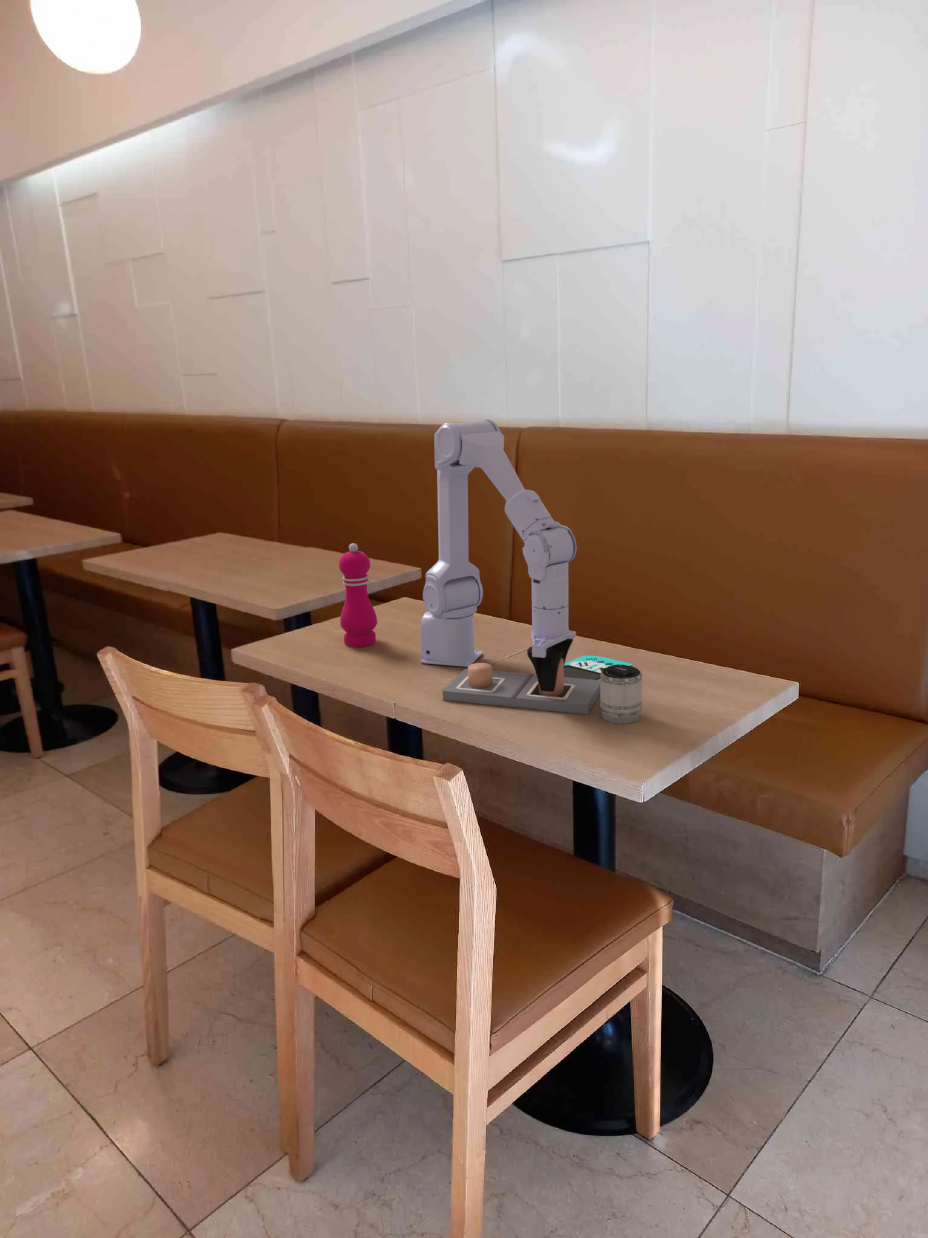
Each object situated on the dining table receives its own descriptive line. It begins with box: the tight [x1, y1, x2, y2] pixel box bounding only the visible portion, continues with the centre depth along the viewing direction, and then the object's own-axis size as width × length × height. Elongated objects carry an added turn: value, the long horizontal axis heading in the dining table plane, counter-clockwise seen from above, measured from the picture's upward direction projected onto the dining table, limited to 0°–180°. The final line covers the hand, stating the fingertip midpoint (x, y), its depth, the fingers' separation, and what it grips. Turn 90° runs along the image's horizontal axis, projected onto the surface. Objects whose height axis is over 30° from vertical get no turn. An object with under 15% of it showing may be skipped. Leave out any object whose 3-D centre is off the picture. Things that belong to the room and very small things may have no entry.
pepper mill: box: [338, 542, 378, 648], centre depth 176 cm, size 7×7×20 cm
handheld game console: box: [564, 655, 634, 680], centre depth 157 cm, size 10×16×1 cm, turn 138°
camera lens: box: [599, 664, 643, 725], centre depth 138 cm, size 6×6×8 cm
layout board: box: [442, 662, 600, 715], centre depth 148 cm, size 24×11×5 cm, turn 70°
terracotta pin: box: [538, 658, 565, 698], centre depth 145 cm, size 4×4×6 cm
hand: (550, 685), depth 146 cm, fingers closed on terracotta pin, 4 cm apart
